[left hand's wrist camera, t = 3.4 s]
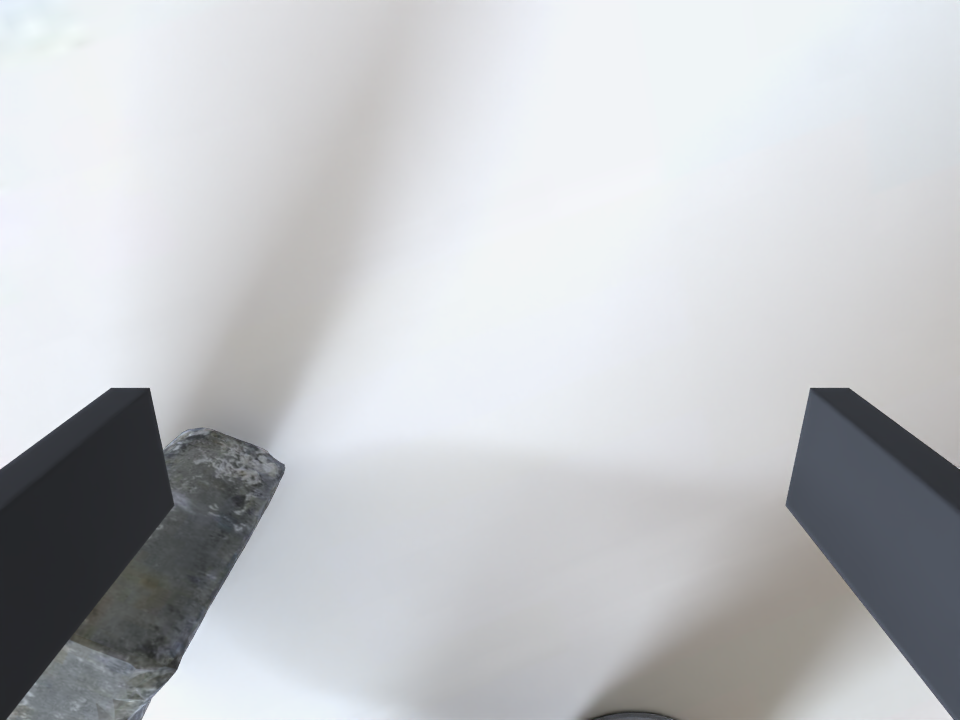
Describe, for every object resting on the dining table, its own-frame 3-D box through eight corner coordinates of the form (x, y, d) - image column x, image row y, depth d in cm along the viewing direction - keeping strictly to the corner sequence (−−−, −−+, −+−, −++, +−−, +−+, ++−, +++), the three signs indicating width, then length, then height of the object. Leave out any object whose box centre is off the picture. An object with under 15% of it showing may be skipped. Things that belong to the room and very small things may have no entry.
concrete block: (199, 382, 42) (-21, 590, 24) (315, 444, 44) (194, 683, 26) (65, 635, 51) (-176, 937, 32) (168, 679, 52) (-5, 990, 34)
